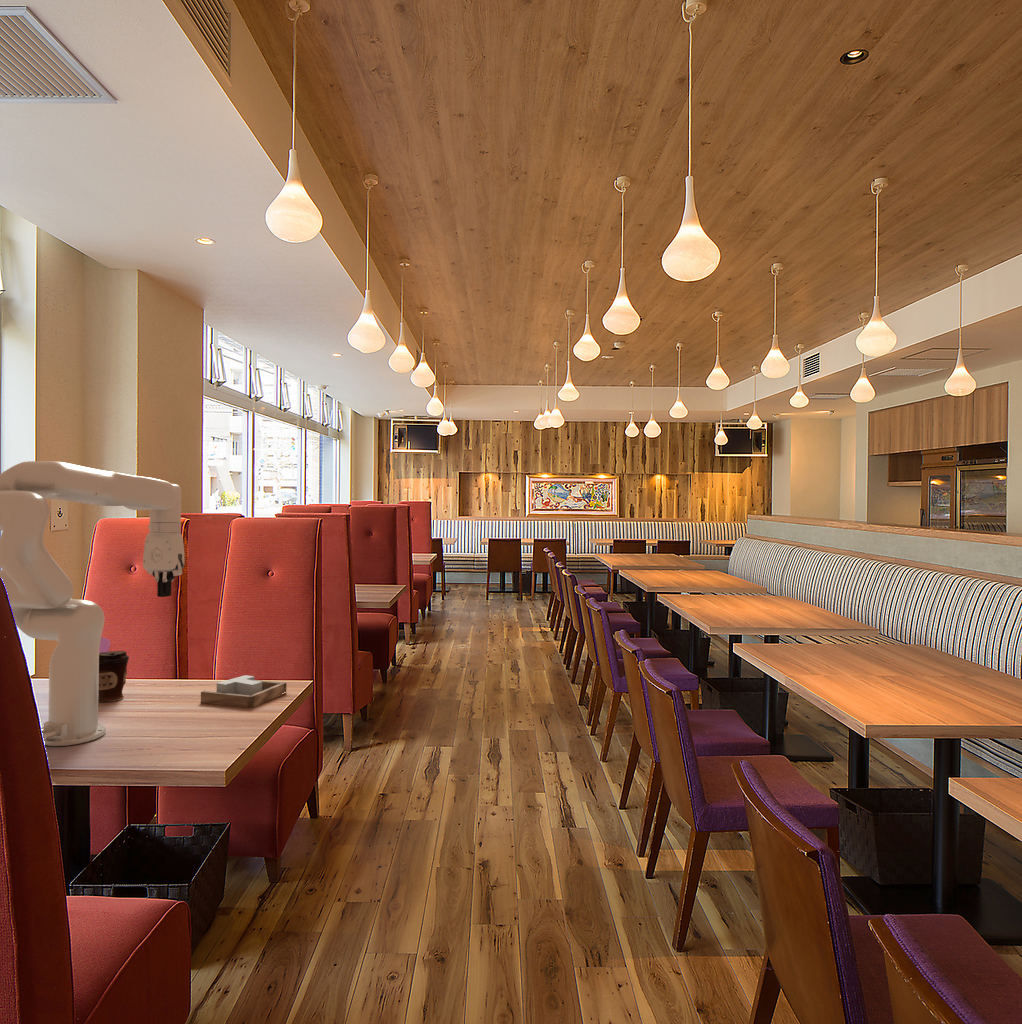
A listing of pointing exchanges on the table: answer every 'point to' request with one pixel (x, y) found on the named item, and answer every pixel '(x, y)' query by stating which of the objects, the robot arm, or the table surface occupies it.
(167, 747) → the table surface
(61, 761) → the table surface
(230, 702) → the corral
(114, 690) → the coffee cup
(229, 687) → the tee block
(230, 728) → the table surface
